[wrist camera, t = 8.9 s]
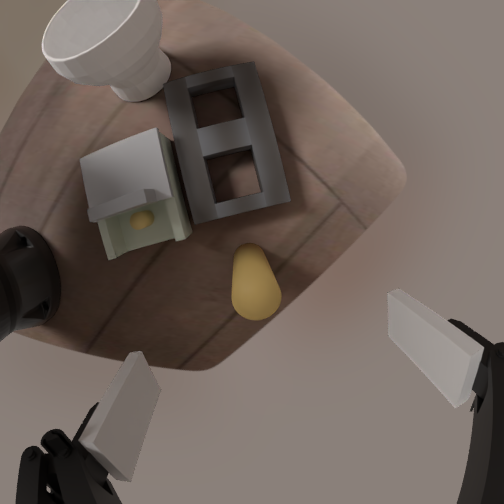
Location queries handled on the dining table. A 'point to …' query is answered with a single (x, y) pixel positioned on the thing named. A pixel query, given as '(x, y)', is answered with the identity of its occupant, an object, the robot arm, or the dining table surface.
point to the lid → (125, 176)
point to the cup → (109, 46)
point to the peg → (254, 284)
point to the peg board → (225, 141)
